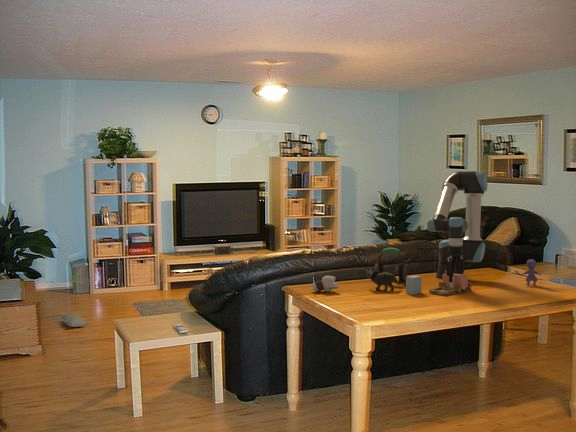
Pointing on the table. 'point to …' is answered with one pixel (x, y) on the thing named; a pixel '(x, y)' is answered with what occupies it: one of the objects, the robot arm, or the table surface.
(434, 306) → the table surface
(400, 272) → the headphones
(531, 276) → the toy
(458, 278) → the pink slab with ridge
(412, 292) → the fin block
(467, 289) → the jig
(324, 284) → the toy
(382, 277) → the dinosaur figurine
